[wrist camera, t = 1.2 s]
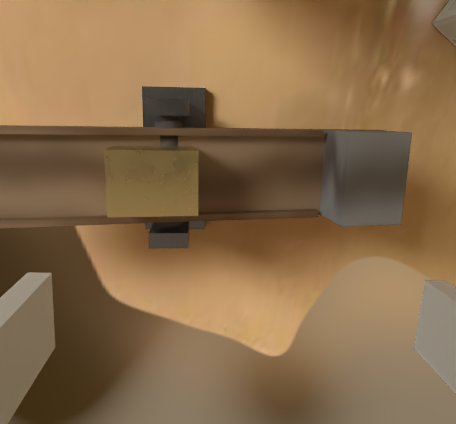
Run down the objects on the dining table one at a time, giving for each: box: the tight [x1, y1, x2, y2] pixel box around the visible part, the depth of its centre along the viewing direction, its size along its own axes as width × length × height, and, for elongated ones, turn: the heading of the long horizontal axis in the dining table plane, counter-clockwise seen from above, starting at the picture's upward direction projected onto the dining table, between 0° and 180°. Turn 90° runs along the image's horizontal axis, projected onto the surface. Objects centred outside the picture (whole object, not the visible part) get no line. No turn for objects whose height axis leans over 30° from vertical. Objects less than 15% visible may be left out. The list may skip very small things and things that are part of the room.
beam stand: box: [142, 87, 206, 248], centre depth 36 cm, size 14×6×12 cm, turn 179°
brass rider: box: [104, 146, 199, 217], centre depth 29 cm, size 4×6×4 cm
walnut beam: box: [0, 121, 412, 228], centre depth 30 cm, size 8×36×6 cm, turn 89°
